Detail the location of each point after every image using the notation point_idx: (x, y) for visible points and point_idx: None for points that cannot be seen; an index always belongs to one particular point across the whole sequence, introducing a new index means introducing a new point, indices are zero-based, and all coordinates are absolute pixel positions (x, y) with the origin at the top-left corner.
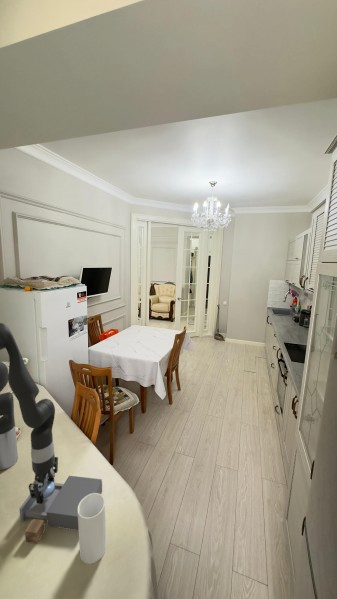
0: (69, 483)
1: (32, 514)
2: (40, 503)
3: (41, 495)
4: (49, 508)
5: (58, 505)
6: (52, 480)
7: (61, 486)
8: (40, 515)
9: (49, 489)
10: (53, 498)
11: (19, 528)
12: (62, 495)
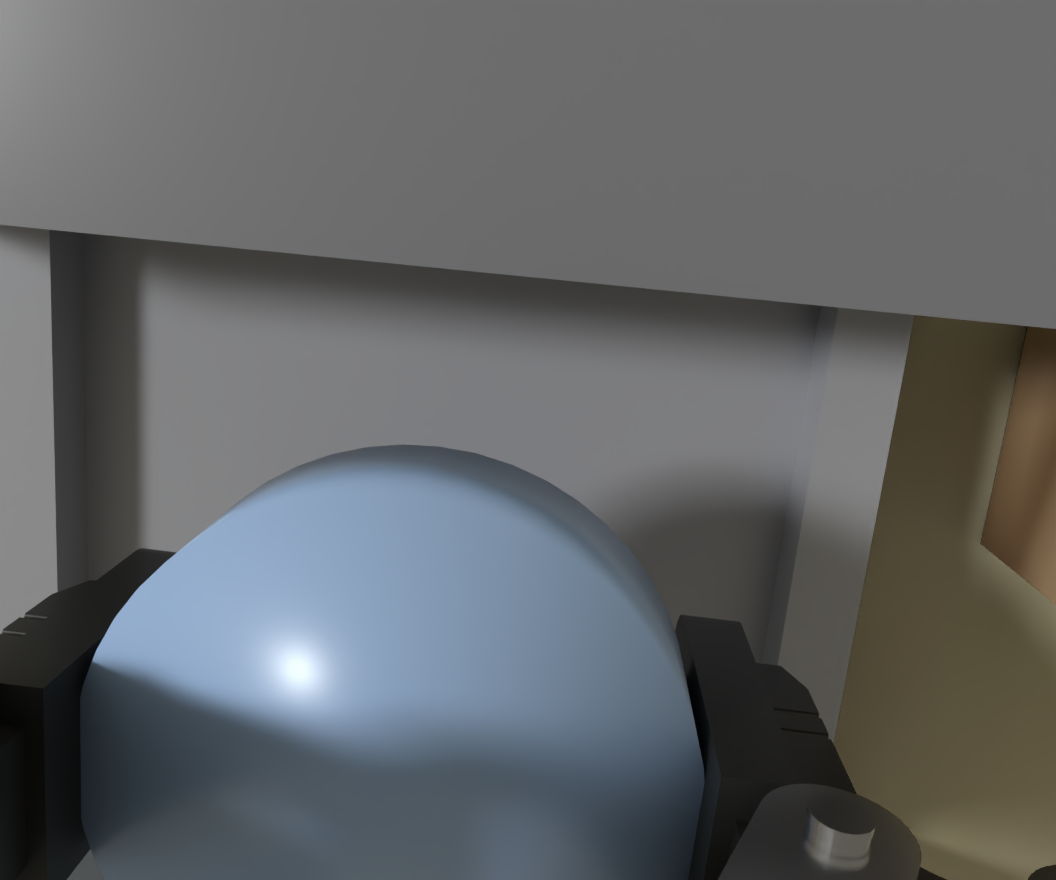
0: (6, 10)
1: (826, 723)
2: (785, 671)
3: (854, 794)
4: (1015, 291)
5: (919, 8)
6: (65, 683)
7: (60, 372)
8: (864, 529)
9: (466, 609)
10: (386, 436)
11: (948, 814)
12: (515, 51)
